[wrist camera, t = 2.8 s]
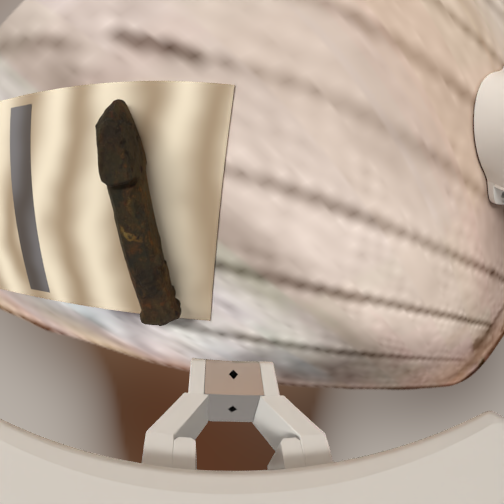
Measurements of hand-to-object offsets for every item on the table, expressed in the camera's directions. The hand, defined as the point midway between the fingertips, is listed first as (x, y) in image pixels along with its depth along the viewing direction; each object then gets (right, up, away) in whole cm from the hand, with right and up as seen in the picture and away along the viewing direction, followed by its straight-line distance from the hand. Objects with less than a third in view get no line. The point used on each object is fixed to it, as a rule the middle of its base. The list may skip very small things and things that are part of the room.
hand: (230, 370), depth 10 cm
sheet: (-16, +8, +12) cm, 22 cm away
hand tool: (-9, +8, +13) cm, 18 cm away
